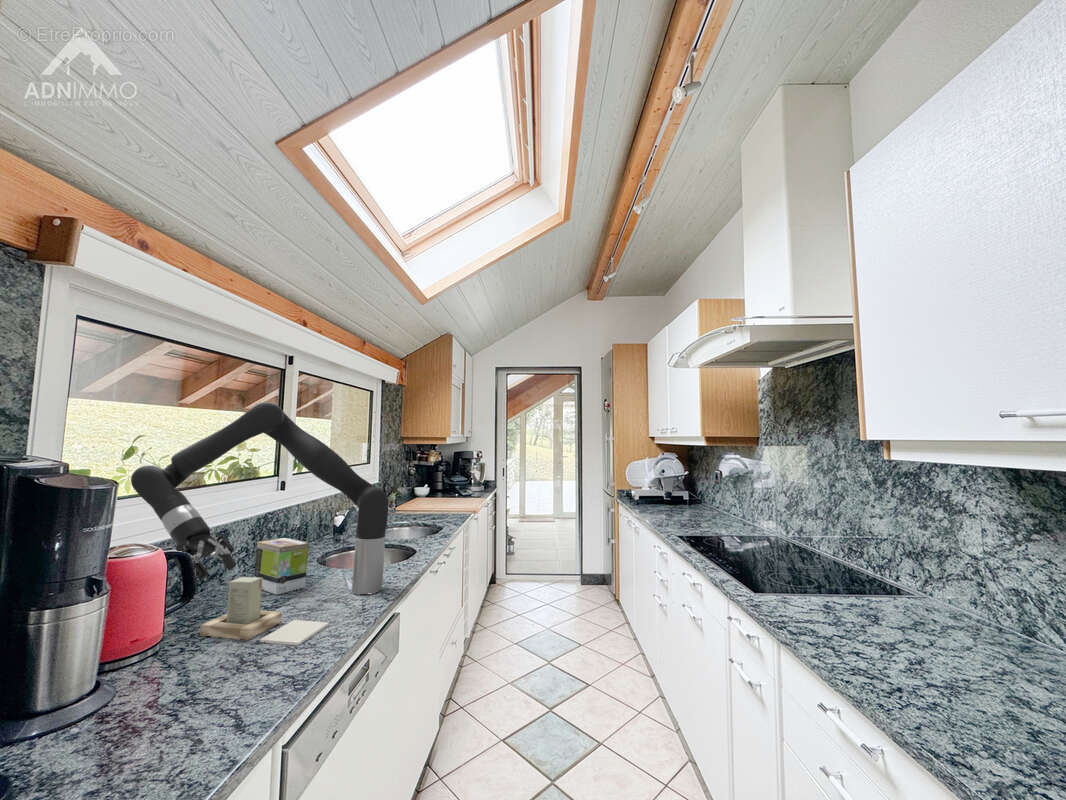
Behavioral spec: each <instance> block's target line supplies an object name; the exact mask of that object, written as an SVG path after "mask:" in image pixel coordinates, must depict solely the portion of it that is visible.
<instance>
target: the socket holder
mask: <svg viewBox="0 0 1066 800" xmlns="http://www.w3.org/2000/svg"><path fill="white" fill-rule="evenodd" d="M282 618H283V612H282V611H273V610H260V619H258V620H256V621H254V622H252V623H250V624H248V625H247V624H235V623H226V622H227V613H225V614H223V615H220V616H218V617H216V618H214V619H211V620H209V621H207V622H205V623H203V624H201V625H200V630H199V636H200V637H206V636H211V637H210V638H218V637H222V638H221V639H229V638H234V639H233V640H240V639H245V640H244V641H250V640H252V639H253V638H255V637H256V635H257V636H259V635H260V634H262V633H264V632H266V631H268V630H269V629H272V628H274V627H275V626H277V625H278V624H280V623H282V620H283V619H282ZM267 629H268V630H267ZM258 634H259V635H258ZM254 636H255V637H254ZM252 637H253V638H252ZM249 639H250V640H249Z"/></svg>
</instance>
